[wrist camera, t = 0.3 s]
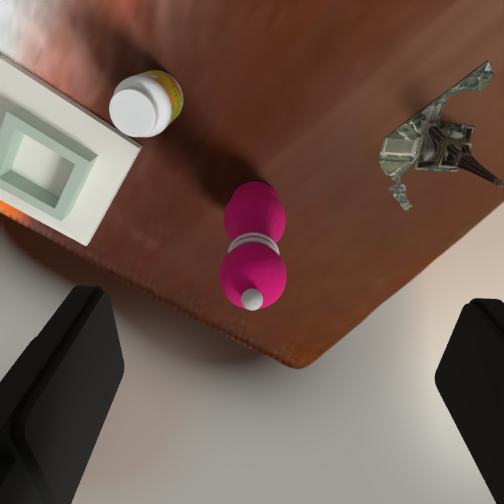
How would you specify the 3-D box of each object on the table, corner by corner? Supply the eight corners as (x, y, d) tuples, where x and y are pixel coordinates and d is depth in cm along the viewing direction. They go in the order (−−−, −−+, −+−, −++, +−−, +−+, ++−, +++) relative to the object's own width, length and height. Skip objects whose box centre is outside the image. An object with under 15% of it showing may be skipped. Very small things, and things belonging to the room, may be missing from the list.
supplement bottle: (185, 123, 40) (166, 146, 32) (138, 121, 40) (106, 144, 32) (182, 70, 38) (160, 80, 29) (131, 68, 38) (94, 78, 29)
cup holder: (-33, 175, 44) (-55, 186, 41) (3, 55, 37) (-20, 57, 34) (89, 241, 49) (78, 255, 46) (142, 145, 42) (132, 154, 39)
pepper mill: (230, 231, 48) (213, 341, 30) (223, 179, 44) (199, 272, 27) (284, 227, 47) (298, 336, 30) (282, 174, 43) (296, 265, 26)
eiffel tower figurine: (486, 57, 37) (587, 67, 26) (522, 132, 41) (624, 171, 29) (361, 152, 42) (399, 196, 31) (404, 211, 46) (452, 269, 35)
